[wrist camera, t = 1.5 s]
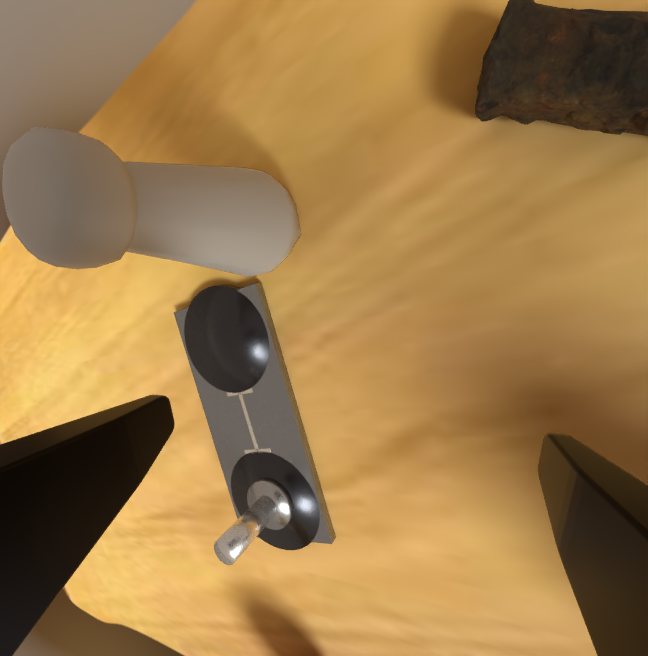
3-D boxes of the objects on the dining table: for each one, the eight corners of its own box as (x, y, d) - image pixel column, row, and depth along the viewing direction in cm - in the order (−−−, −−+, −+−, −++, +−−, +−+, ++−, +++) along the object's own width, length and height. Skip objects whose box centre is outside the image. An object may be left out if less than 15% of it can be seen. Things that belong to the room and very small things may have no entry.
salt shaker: (229, 261, 24) (-19, 266, 12) (241, 170, 22) (-35, 81, 11) (303, 284, 22) (83, 316, 10) (322, 186, 20) (85, 94, 9)
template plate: (338, 548, 24) (335, 555, 24) (250, 540, 28) (245, 545, 27) (257, 270, 23) (251, 271, 22) (177, 301, 27) (170, 302, 26)
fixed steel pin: (300, 525, 25) (256, 584, 20) (260, 522, 26) (211, 576, 22) (285, 477, 24) (237, 525, 20) (246, 477, 26) (194, 522, 22)
